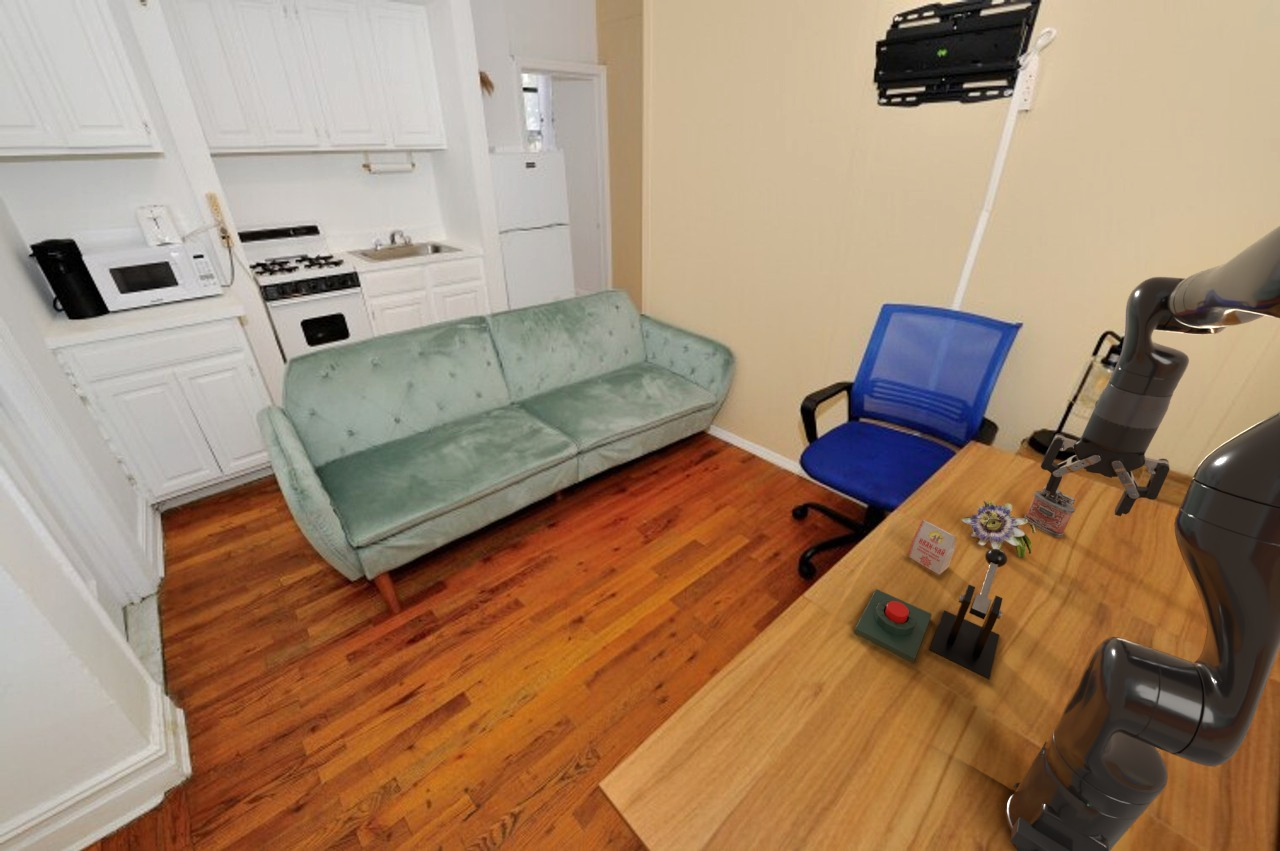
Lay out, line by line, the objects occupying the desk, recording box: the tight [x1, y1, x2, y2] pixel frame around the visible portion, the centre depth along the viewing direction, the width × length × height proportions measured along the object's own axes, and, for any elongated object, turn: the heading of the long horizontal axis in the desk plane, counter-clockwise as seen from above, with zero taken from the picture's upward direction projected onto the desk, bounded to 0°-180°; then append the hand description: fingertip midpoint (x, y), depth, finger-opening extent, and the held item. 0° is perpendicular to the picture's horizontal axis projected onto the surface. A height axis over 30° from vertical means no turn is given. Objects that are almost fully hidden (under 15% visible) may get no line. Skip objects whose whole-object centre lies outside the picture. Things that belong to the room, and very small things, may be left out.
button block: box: [853, 588, 932, 664], centre depth 92 cm, size 12×10×4 cm
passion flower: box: [960, 500, 1037, 559], centre depth 112 cm, size 11×11×12 cm
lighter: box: [1023, 485, 1076, 538], centre depth 115 cm, size 8×3×10 cm, turn 25°
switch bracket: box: [929, 584, 1003, 680], centre depth 87 cm, size 11×9×12 cm
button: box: [885, 601, 909, 623], centre depth 91 cm, size 4×4×2 cm
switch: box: [968, 548, 1008, 620], centre depth 87 cm, size 13×3×3 cm, turn 141°
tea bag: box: [907, 519, 957, 576], centre depth 105 cm, size 4×7×10 cm, turn 35°
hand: (1083, 503), depth 83 cm, fingers open, 8 cm apart
